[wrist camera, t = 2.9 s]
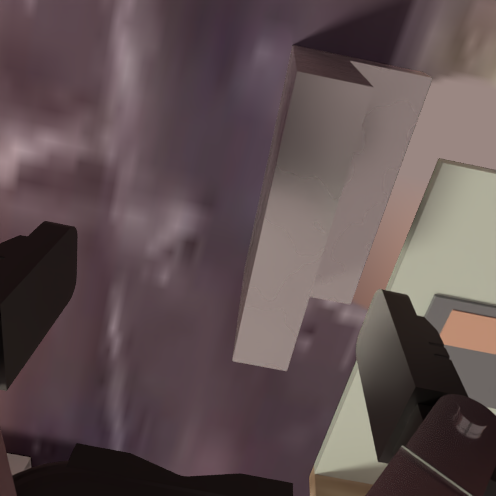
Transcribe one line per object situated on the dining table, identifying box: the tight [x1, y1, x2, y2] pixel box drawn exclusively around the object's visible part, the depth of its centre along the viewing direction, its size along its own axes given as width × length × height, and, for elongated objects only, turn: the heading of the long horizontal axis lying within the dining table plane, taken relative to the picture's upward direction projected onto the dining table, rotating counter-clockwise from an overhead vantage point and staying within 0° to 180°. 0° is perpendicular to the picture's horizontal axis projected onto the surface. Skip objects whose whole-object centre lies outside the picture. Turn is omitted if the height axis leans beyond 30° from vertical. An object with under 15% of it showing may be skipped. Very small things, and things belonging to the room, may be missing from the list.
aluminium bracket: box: [232, 45, 433, 371], centre depth 17 cm, size 10×5×6 cm, turn 170°
